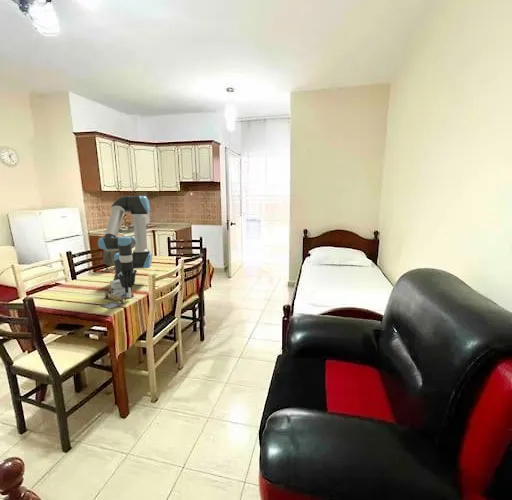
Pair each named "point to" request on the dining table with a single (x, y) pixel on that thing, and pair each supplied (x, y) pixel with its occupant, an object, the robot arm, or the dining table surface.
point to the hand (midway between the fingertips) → (129, 296)
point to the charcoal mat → (111, 305)
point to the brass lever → (114, 297)
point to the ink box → (117, 288)
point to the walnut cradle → (124, 297)
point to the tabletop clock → (109, 256)
